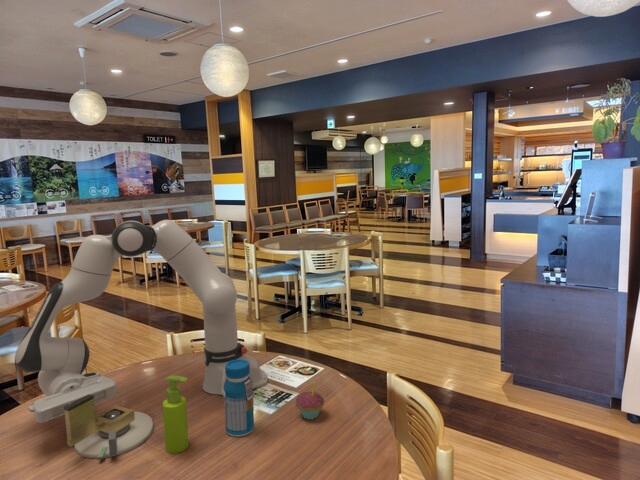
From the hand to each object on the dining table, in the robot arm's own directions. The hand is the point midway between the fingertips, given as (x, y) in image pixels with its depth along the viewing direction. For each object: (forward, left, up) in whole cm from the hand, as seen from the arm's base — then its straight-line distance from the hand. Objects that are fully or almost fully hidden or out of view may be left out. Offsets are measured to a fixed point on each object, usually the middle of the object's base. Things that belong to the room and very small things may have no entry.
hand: (86, 409), depth 113 cm
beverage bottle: (-39, +8, -12) cm, 41 cm away
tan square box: (-6, -4, -10) cm, 12 cm away
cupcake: (-60, +10, -12) cm, 62 cm away
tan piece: (-2, -1, -8) cm, 8 cm away
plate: (-5, -3, -11) cm, 13 cm away
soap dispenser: (-22, +9, -12) cm, 26 cm away
